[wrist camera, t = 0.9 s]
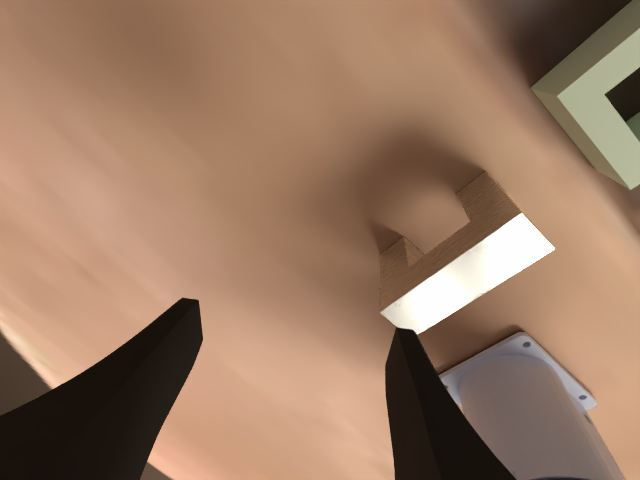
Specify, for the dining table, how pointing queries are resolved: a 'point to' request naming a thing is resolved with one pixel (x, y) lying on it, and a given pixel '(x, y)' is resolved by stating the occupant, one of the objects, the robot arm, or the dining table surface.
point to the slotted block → (599, 96)
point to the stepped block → (459, 259)
